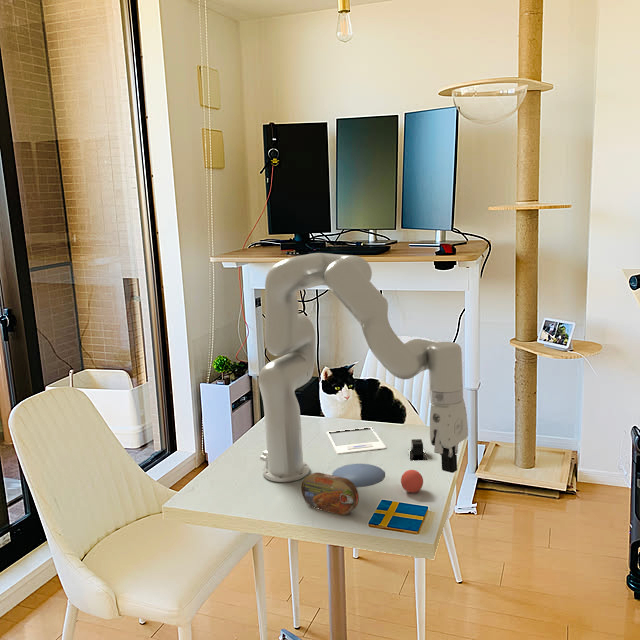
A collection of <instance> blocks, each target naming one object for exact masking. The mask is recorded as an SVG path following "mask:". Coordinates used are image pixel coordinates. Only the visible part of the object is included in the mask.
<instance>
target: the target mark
mask: <svg viewBox="0 0 640 640" xmlns="http://www.w3.org/2000/svg"><path fill="white" fill-rule="evenodd" d="M331 475H333V476H338V477H342V478H346V479H348V480H350V481H351V482H352V483H353V484H354V485H355V486H356V488H357V487H359V488H361V487H368V486H373V485H375V484H377V483H379V482H381V481H382V480H384V478H385V470H383V469H382V468H381V467H379V466H377V465H373V464H371V463H370V464H369V463H350V464H346V465H342V466H340V467H338V468H336V469H335V470H334V471H333V472H332V474H331Z"/></svg>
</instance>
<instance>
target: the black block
mask: <svg viewBox="0 0 640 640" xmlns="http://www.w3.org/2000/svg"><path fill="white" fill-rule="evenodd" d="M410 446H411V447H410V449H411V451H410V458H409V460H410V461H411V462H412V461H413V460H414V461H415V462H417V461H419V462H420V461H428V460H429V458H428V455H427V454H426V455H427V456H426V455H425V453H426V452H425V453H424V452H423V449H424V443H423V440H422V439H421V438H417V439H411V445H410ZM414 461H413V462H414Z"/></svg>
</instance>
